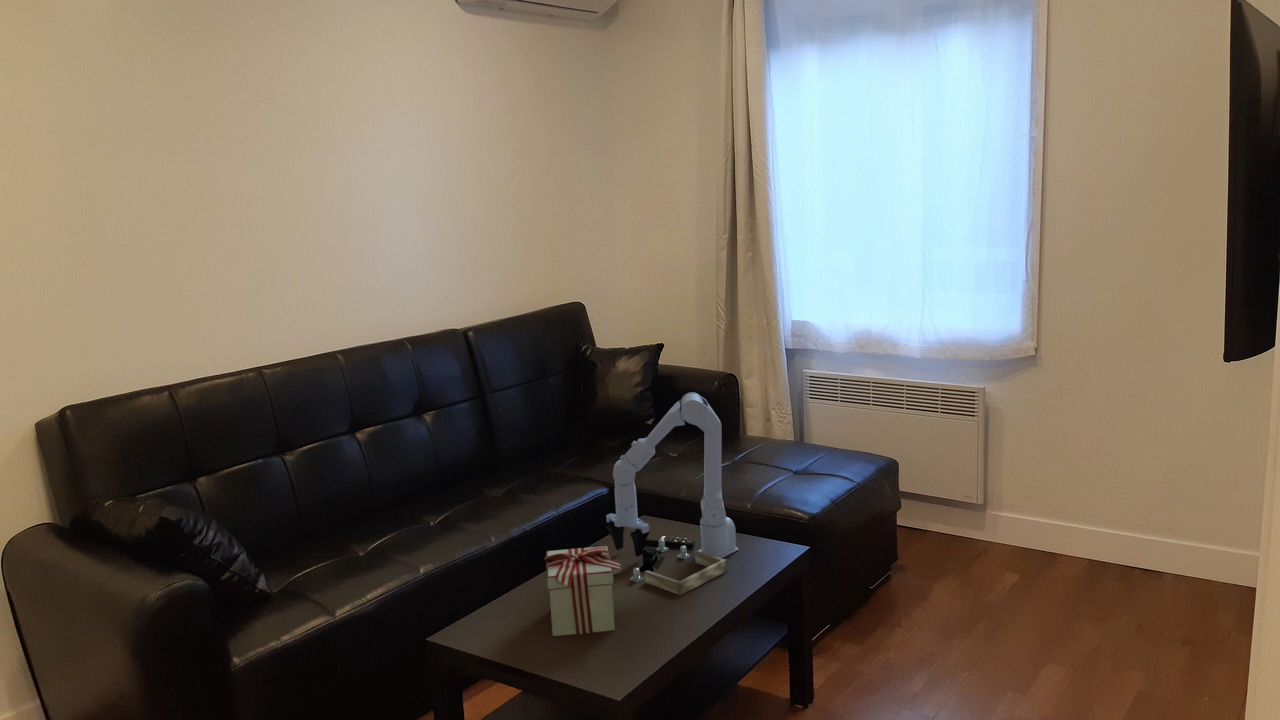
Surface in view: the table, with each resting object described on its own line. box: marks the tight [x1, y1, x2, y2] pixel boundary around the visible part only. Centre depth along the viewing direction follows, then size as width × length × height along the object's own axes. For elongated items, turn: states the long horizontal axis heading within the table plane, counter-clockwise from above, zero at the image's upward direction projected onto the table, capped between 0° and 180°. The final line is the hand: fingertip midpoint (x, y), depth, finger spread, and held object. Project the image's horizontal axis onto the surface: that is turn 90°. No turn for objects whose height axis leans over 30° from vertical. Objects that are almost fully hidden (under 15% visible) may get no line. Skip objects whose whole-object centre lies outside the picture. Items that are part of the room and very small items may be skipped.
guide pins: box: [612, 538, 691, 583], centre depth 250 cm, size 20×10×3 cm, turn 135°
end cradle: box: [644, 550, 728, 596], centre depth 241 cm, size 18×12×3 cm, turn 135°
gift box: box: [543, 545, 622, 637], centre depth 219 cm, size 17×18×17 cm
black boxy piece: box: [637, 546, 666, 573], centre depth 251 cm, size 12×7×5 cm, turn 163°
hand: (629, 552), depth 256 cm, fingers open, 7 cm apart
